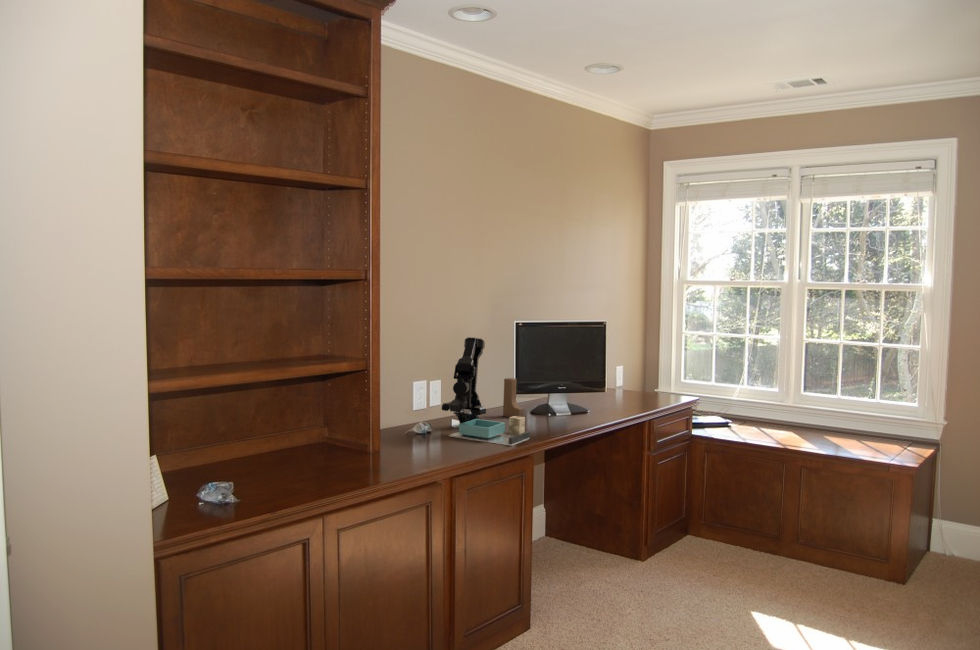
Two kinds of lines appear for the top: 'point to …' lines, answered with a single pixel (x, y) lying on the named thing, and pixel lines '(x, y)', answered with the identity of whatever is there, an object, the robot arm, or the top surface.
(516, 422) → the part
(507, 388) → the wooden block
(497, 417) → the top surface
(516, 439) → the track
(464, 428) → the teal storage bin
